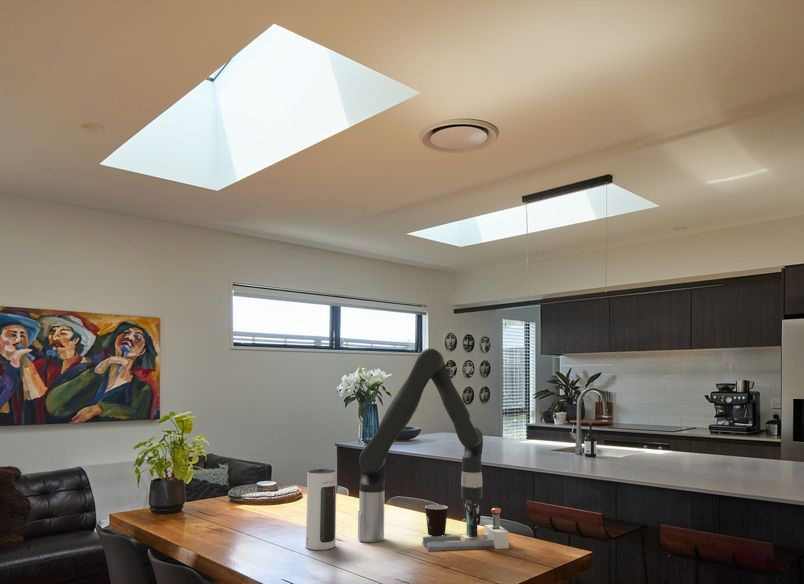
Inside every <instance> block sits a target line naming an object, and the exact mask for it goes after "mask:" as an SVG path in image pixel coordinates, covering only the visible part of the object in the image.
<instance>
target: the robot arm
mask: <svg viewBox="0 0 804 584" xmlns="http://www.w3.org/2000/svg"><path fill="white" fill-rule="evenodd" d="M430 379H431V381H432V382H433V384H434V385H435V388H436V390H437V393H438V394H439V396H440V399H441V402H442V404H443V406H444V409H445V410H446V413H447V415H448V416H449V419H450V420H451V423H452V424H453V427H454V431H455V433H456V436H457V439H458V441H459V442H460V444H461V445H462V446H463V447H464V452H463V456H462V459H461V477H460V478H461V479H460V481H461V482H460V486H461V487H460V489H461V498H462V499H463V500H465V501H463V502H462V504H463V516H464V519H465V521H466V523H467V512H468V513H469V518H470V521H471V536H472V537H475V536H477V534H478V526H479V525H480V524H481V516H482V515H481V514H482V509H481V507H480V505H479V500H482V499H483V474H482V453H483V446H484V436H483V433H482V431H481V430H480V429H479V428H477V427H475V426H474V425H473V424H472V423H473V422H472V421H471V415H470V411H469V410H468V408H467V406H466V405H465V403H464V401H463V399H462V396H461V395H460V394H459V392H458V390H457V389H456V387H455V385H454V383H453V381H452V378H451V377H450V375H449V372H448V369H447V367H446V363H445V360H444V357H443V355H442V353H441V352H439V351H438V350H437V349H435V348H431V347H430V348H429V347H428V348H425V349H423V350H422V351H421V352H420V353H419V354H418V356H417V358H416V360H415V362H414V365H413V367H412V369H411V371H410V373H409V375H408V377H407V378H406V380H405V381H404V382H403V384H402V386H401V387H400V388H399V390H398V391H397V393H396V395H395V396H394V397H393V400H392V401H391V403H390V404H389V406H388V407H387V409H386V412H385V414H384V415H383V417H382V419H381V422H380V423H379V426H378V428H377V430H376V432H375V433H374V435H373V436H372V438H371V439H370V440H369V442H368V444H366V445H365V447H364V449H362V451H361V452H360V454H359V458H358V462H359V463H358V464H359V467H360V479H359V495H358V497H359V498H358V499H359V500H358V501H359V502H358V503H359V507H358V508H359V510H358V512H357V516H358V517H357V539H358V540H359V542H366V543H376V542H377V543H378V542H382V541H384V539H385V487H386V486H385V485H386V473H387V471H386V469H387V468H386V467H387V466H386V465H387V464H386V463H387V456H388V453H389V451H390V449H391V447H392V445H393V443H394V442H395V441H396V439H397V438H399V436H400V434H401V433H402V432H403V430H404V429H405V428H406V427H407V425H408V424H409V422H410V421H411V419H412V418H413V416H414V413H415V412H416V410H417V408H418V406H419V403H420V401H421V398H422V395H423V392H424V389H425V388H426V386H427V384H428V383H429V381H430ZM472 515H473V516H472ZM475 519H476V521H475Z"/></svg>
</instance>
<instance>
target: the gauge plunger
mask: <svg viewBox="0 0 804 584" xmlns="http://www.w3.org/2000/svg"><path fill="white" fill-rule="evenodd" d="M491 513H492V525H493V530H496V529H500V526H501V525H500V523H501V522H500V521H501V520H500V518H501V517H500V513H501V508H499V507H492V508H491Z"/></svg>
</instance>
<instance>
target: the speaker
mask: <svg viewBox="0 0 804 584" xmlns="http://www.w3.org/2000/svg"><path fill="white" fill-rule="evenodd" d="M306 476H307V477H306V479H307V480H306V483H307V484H306V485H307V486H306V487H307V488H306V521H305V522H306V525H305V526H306V527H305V528H306V530H305V548H306V549H308V550H310V551H327V550H332V549H333V548H335V547H336V535H337V534H336V530H337V528H336V527H337V525H336V524H337V523H336V521H337V517H336V516H337V470H336V469H331V468H328V469H327V468H316V469H310V470H308V471H307V475H306Z"/></svg>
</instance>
